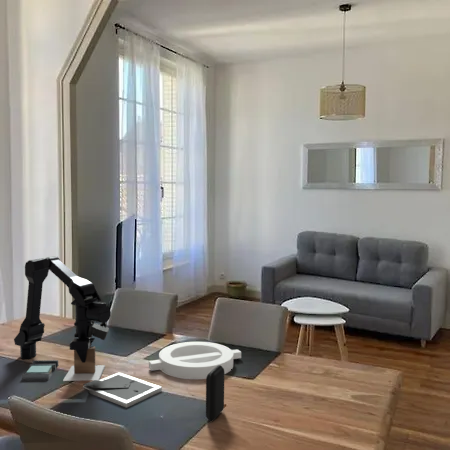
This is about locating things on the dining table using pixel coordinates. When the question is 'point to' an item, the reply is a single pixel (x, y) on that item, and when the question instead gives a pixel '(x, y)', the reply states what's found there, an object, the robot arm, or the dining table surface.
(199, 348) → the ring with crossbar
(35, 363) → the rack
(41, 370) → the offcut upper
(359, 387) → the dining table surface
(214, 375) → the carrying case or bag
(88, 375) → the board
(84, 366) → the brown flat block
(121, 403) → the picture frame
